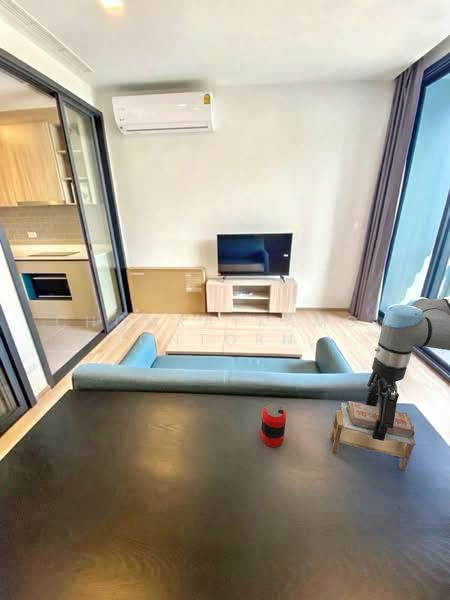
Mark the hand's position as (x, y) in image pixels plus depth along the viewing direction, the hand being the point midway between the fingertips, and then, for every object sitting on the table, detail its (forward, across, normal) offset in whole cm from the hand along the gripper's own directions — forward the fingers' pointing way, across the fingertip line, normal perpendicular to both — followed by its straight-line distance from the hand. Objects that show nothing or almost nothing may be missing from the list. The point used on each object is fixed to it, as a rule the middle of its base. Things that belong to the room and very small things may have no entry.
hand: (373, 423), depth 75 cm
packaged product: (0, 0, 0) cm, 1 cm away
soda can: (+12, +3, -29) cm, 32 cm away
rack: (+12, 0, 0) cm, 12 cm away
